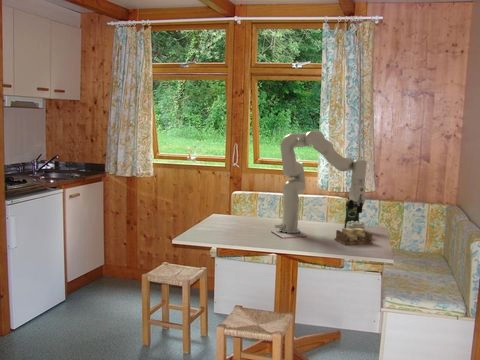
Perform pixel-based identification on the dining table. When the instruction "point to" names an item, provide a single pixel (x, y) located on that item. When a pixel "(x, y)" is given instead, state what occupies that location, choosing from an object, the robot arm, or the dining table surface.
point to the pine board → (354, 232)
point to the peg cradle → (353, 239)
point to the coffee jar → (351, 213)
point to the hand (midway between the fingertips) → (354, 210)
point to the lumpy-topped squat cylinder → (355, 225)
